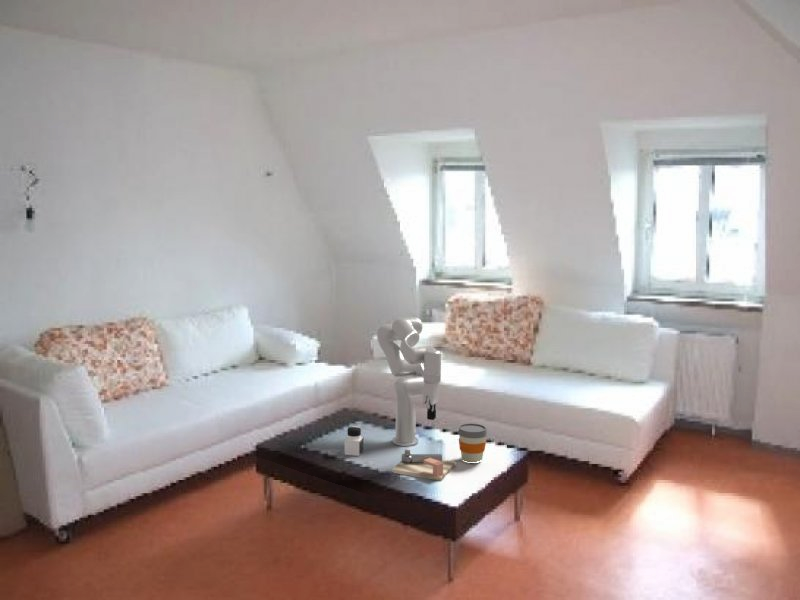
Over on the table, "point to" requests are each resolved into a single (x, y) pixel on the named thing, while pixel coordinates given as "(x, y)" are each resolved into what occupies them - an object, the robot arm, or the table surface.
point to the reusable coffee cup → (472, 441)
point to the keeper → (435, 466)
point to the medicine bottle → (354, 441)
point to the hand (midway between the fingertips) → (431, 418)
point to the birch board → (422, 469)
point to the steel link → (420, 457)
